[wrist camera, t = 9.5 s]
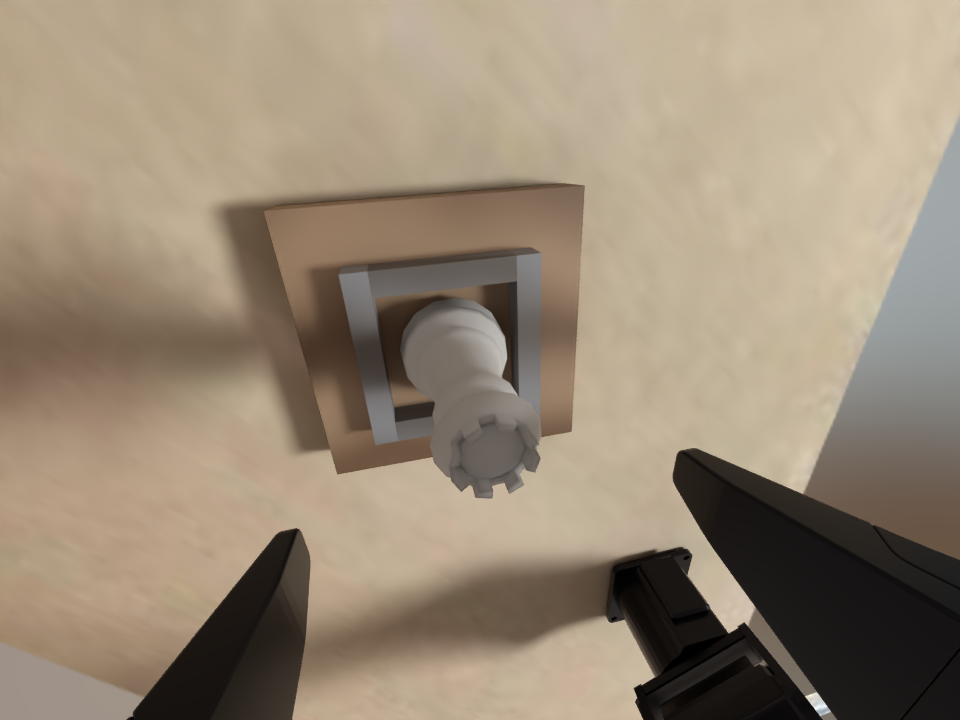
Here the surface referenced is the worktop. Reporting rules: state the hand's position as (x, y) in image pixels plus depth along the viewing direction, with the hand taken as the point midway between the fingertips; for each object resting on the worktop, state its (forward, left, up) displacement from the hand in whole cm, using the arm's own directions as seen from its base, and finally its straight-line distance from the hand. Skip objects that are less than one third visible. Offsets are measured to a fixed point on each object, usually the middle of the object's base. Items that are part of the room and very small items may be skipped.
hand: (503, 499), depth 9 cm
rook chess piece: (0, 0, -10) cm, 10 cm away
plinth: (0, 0, -11) cm, 11 cm away
